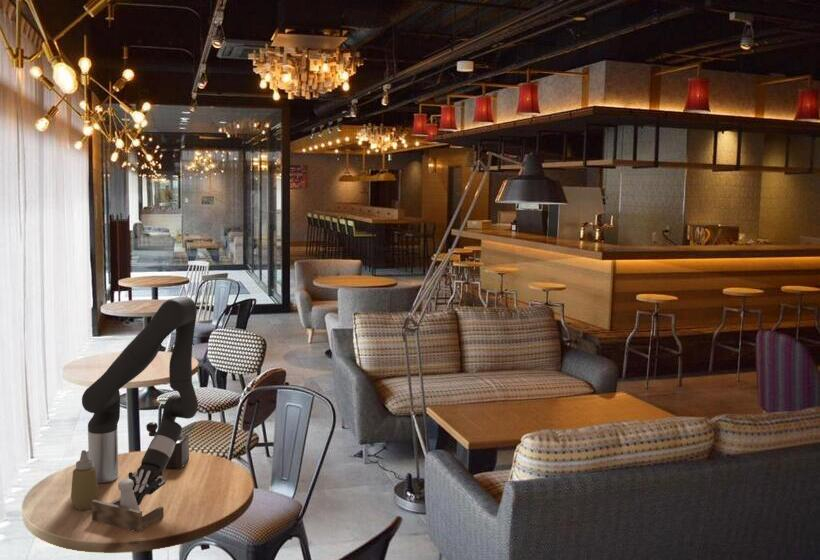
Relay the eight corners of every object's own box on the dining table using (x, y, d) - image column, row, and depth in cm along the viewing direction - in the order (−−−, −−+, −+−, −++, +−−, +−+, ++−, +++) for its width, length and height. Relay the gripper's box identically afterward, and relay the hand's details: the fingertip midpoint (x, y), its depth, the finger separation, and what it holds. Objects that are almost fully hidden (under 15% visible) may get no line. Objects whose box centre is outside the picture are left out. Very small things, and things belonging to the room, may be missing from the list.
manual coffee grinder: (159, 457, 274) (159, 410, 271) (189, 458, 274) (189, 411, 271) (144, 474, 258) (143, 424, 256) (176, 475, 258) (175, 425, 256)
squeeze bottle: (81, 514, 227) (79, 457, 224) (65, 507, 231) (63, 451, 229) (104, 505, 234) (103, 450, 231) (88, 498, 238) (87, 444, 235)
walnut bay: (92, 520, 223) (91, 501, 222) (119, 505, 234) (119, 487, 233) (139, 532, 217) (139, 513, 216) (165, 516, 227) (165, 498, 226)
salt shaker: (133, 526, 221) (128, 487, 217) (116, 524, 222) (110, 485, 218) (144, 515, 226) (139, 476, 223) (127, 513, 227) (122, 475, 224)
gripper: (135, 444, 234) (109, 497, 224) (170, 450, 229) (145, 504, 220) (147, 455, 240) (122, 506, 230) (182, 461, 235) (157, 514, 225)
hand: (133, 505), depth 225 cm, fingers closed
